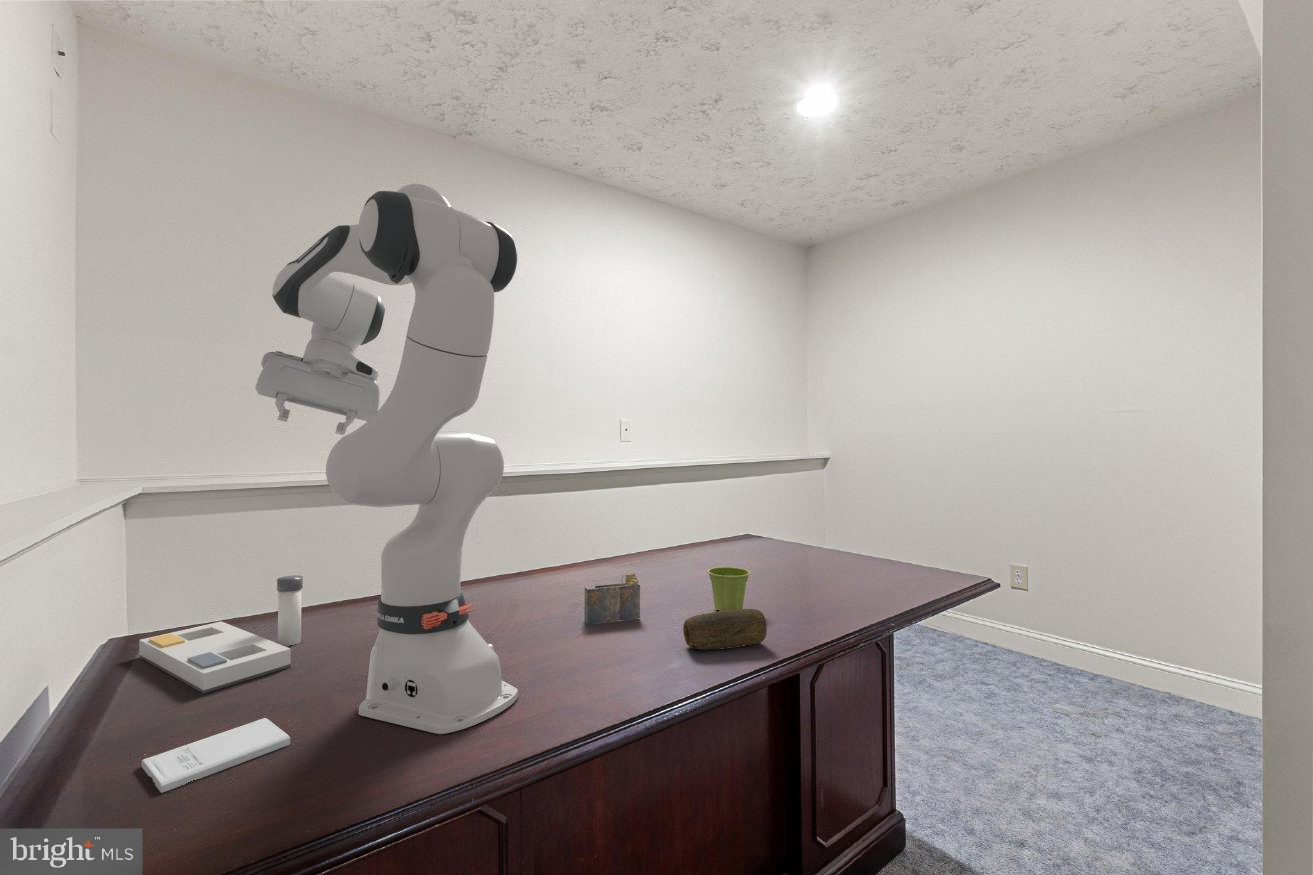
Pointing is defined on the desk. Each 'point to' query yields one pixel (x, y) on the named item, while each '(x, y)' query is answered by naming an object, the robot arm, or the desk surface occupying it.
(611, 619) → the rusty metal tin
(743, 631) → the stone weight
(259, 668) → the socket board
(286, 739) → the external hard drive
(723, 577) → the plant pot
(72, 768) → the desk surface
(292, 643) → the grey capped white cylinder
